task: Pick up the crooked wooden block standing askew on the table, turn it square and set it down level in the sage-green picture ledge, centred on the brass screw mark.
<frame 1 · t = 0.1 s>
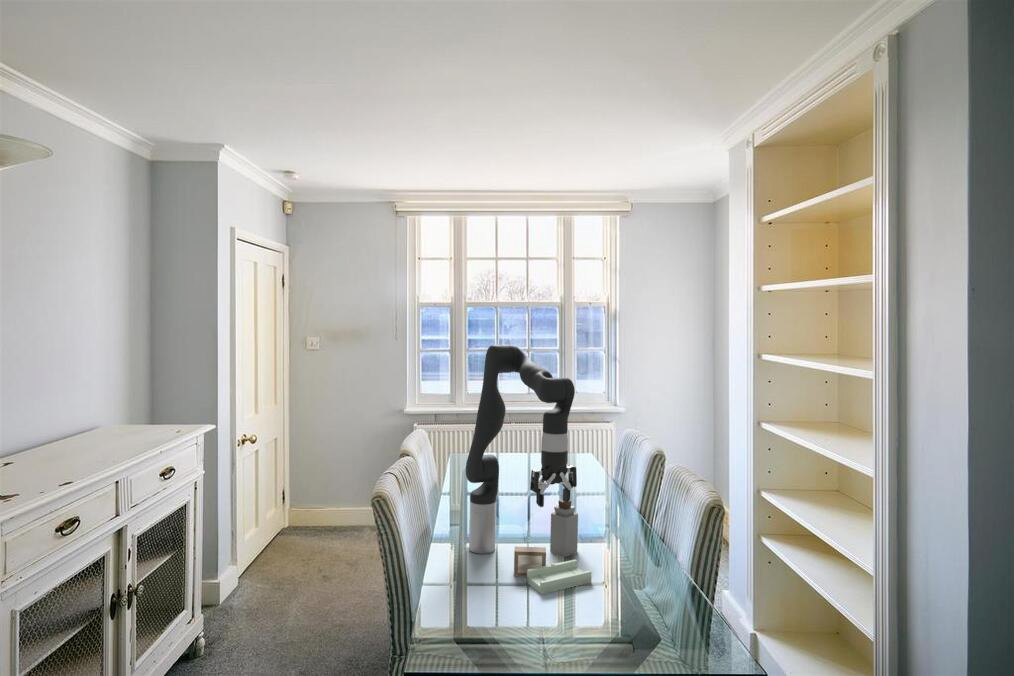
hand: (553, 504, 172), 29 cm above the table, fingers open, 8 cm apart
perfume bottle: (563, 551, 212), on the table
ledge: (559, 582, 187), on the table
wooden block: (529, 573, 193), on the table
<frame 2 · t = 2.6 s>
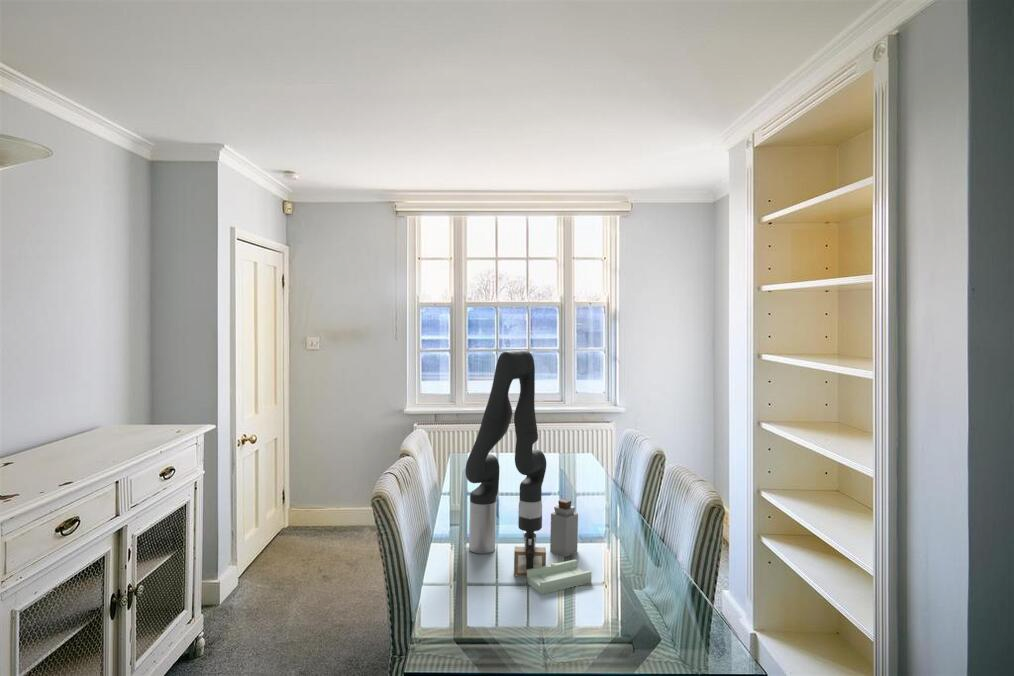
hand: (529, 563, 193), 3 cm above the table, fingers open, 8 cm apart
nothing on the table moved.
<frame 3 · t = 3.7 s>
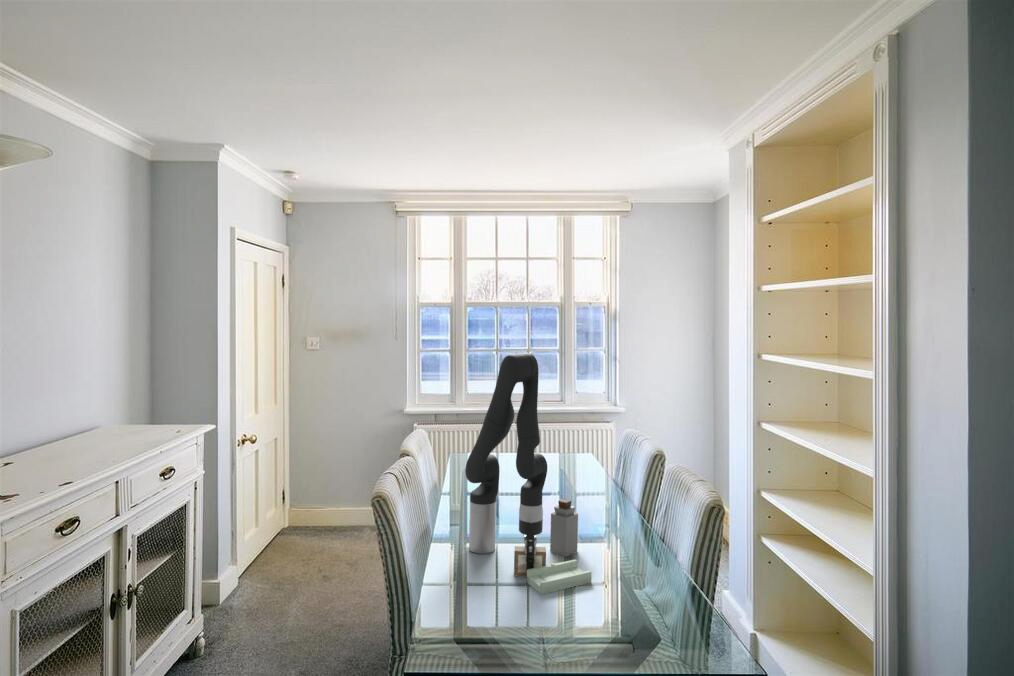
hand: (529, 569, 193), 1 cm above the table, fingers closed on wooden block, 4 cm apart
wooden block: (529, 573, 193), on the table, touching gripper
everything else where it was.
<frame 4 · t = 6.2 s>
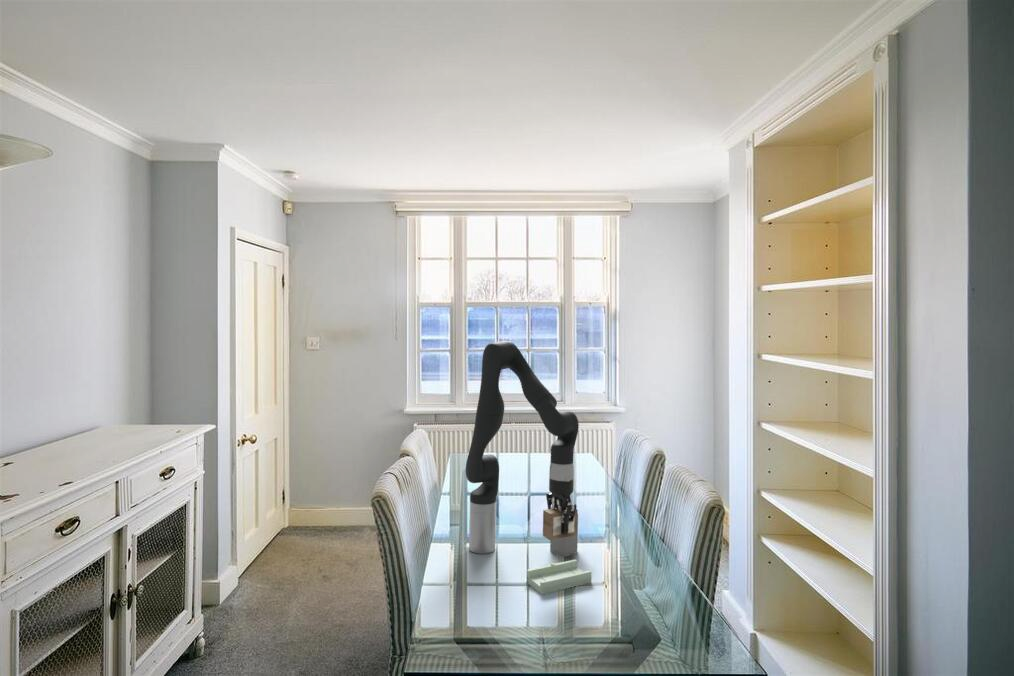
hand: (560, 531, 187), 16 cm above the table, fingers closed on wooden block, 4 cm apart
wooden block: (559, 535, 187), point 15 cm above the table, touching gripper
everything else where it was.
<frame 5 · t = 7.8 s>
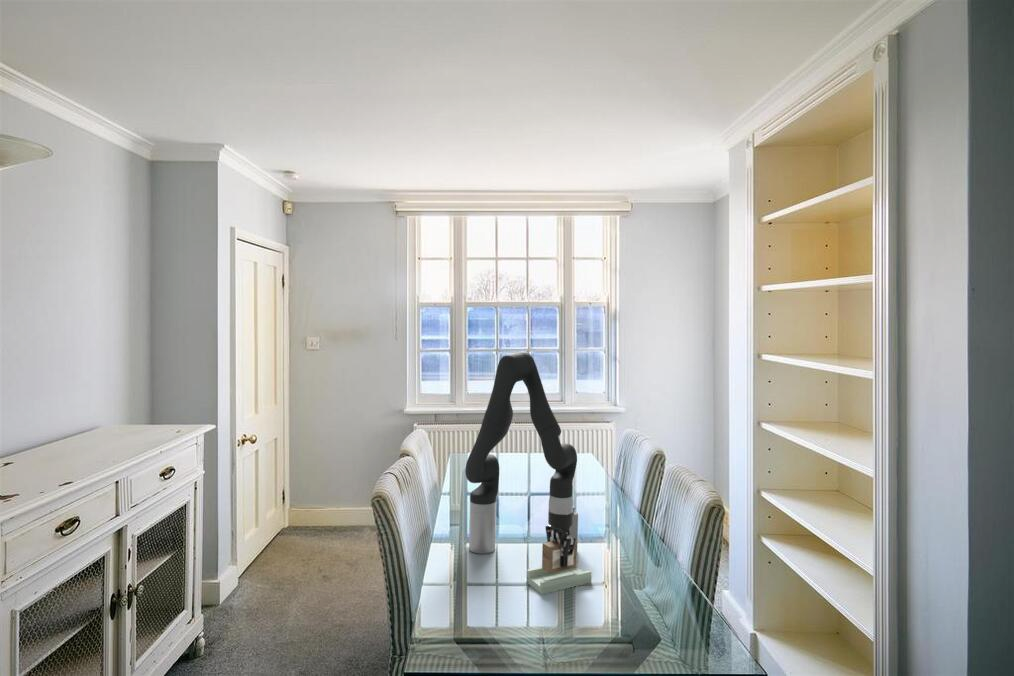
hand: (559, 563, 187), 6 cm above the table, fingers closed on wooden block, 4 cm apart
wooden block: (559, 567, 187), point 5 cm above the table, touching gripper
everything else where it was.
when the fingers open (5 cm above the table, at t = 8.9 s): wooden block drops 1 cm, resting on ledge.
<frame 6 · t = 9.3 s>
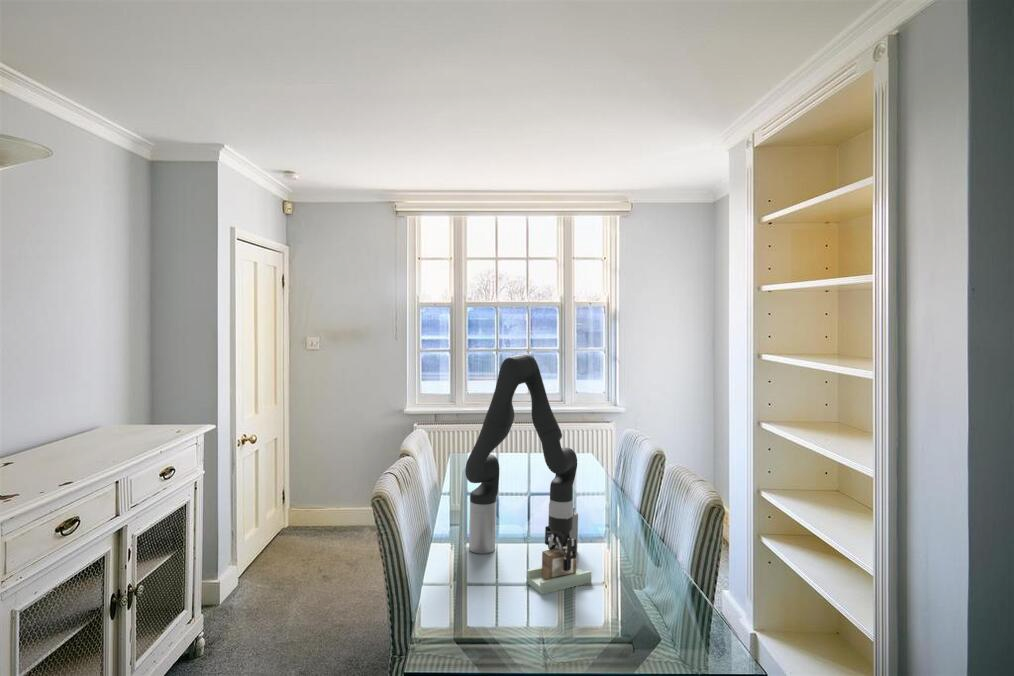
hand: (559, 565, 187), 5 cm above the table, fingers open, 7 cm apart
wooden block: (558, 576, 187), point 2 cm above the table, touching ledge
everything else where it was.
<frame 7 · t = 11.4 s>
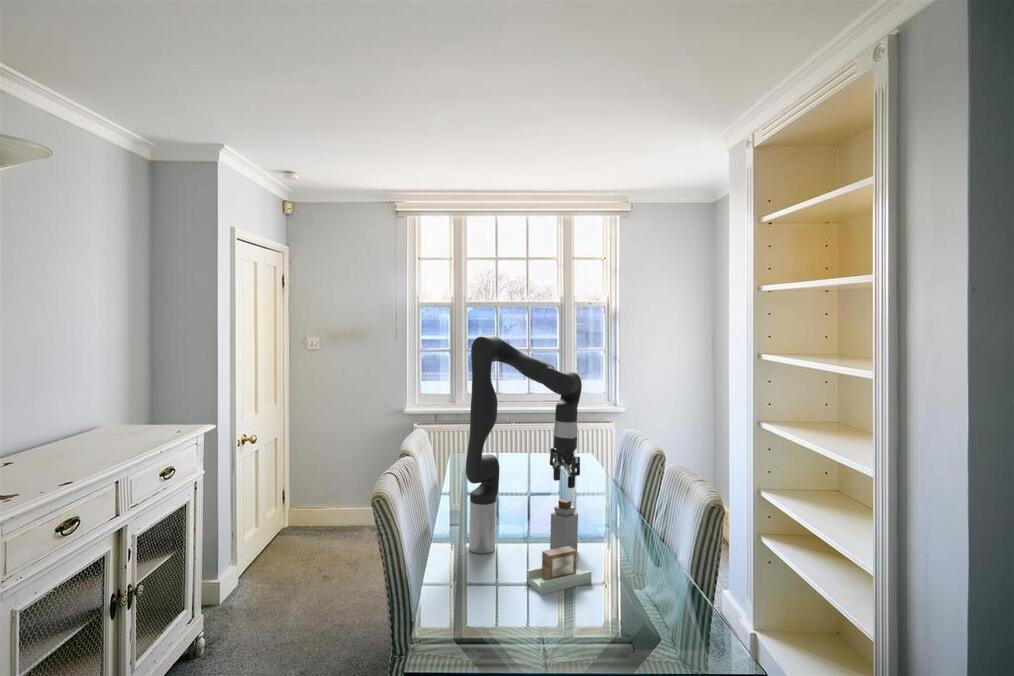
hand: (563, 483, 195), 28 cm above the table, fingers open, 8 cm apart
nothing on the table moved.
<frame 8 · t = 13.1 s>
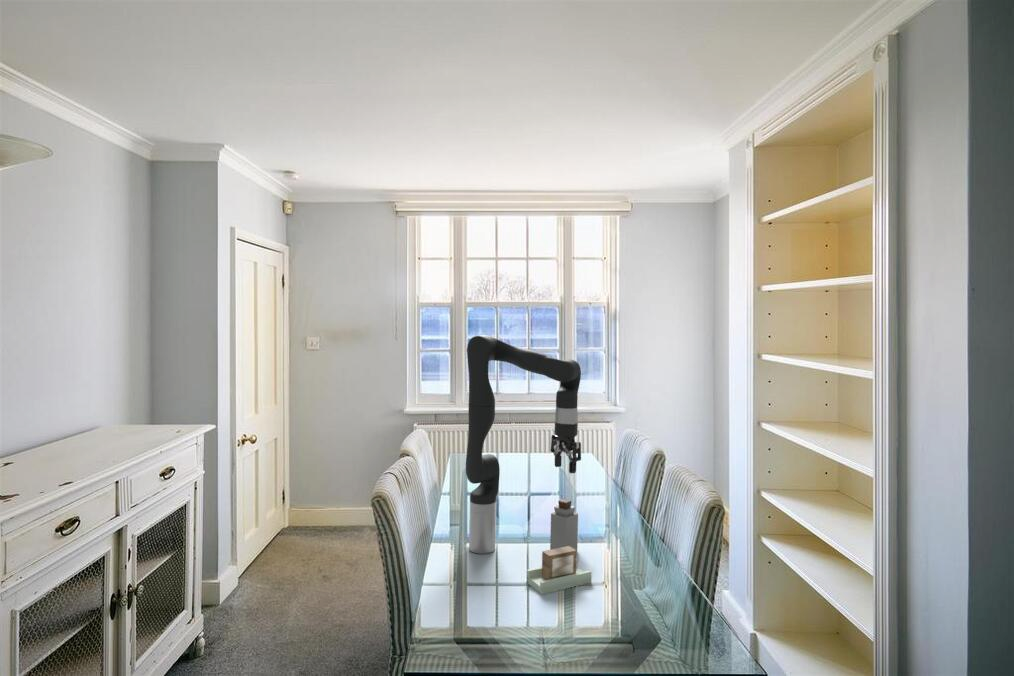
hand: (565, 469, 199), 32 cm above the table, fingers open, 8 cm apart
nothing on the table moved.
at the end: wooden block inside the target area on the ledge (0.3 cm from its centre), point 2.0 cm above the ledge's base; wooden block tilted 0°; the gripper is holding nothing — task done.
